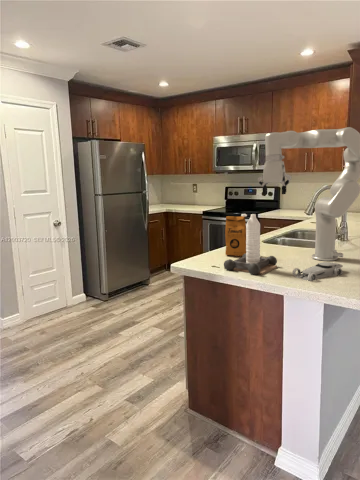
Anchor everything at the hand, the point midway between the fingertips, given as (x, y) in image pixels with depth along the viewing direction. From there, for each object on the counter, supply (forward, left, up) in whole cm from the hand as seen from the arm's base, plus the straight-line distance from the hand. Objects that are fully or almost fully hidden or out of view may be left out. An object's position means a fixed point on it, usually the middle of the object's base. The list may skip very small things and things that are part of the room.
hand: (274, 194), depth 174 cm
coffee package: (+23, -2, -34) cm, 41 cm away
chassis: (+3, +18, -34) cm, 39 cm away
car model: (-27, +10, -35) cm, 45 cm away
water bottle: (+3, +18, -33) cm, 38 cm away
